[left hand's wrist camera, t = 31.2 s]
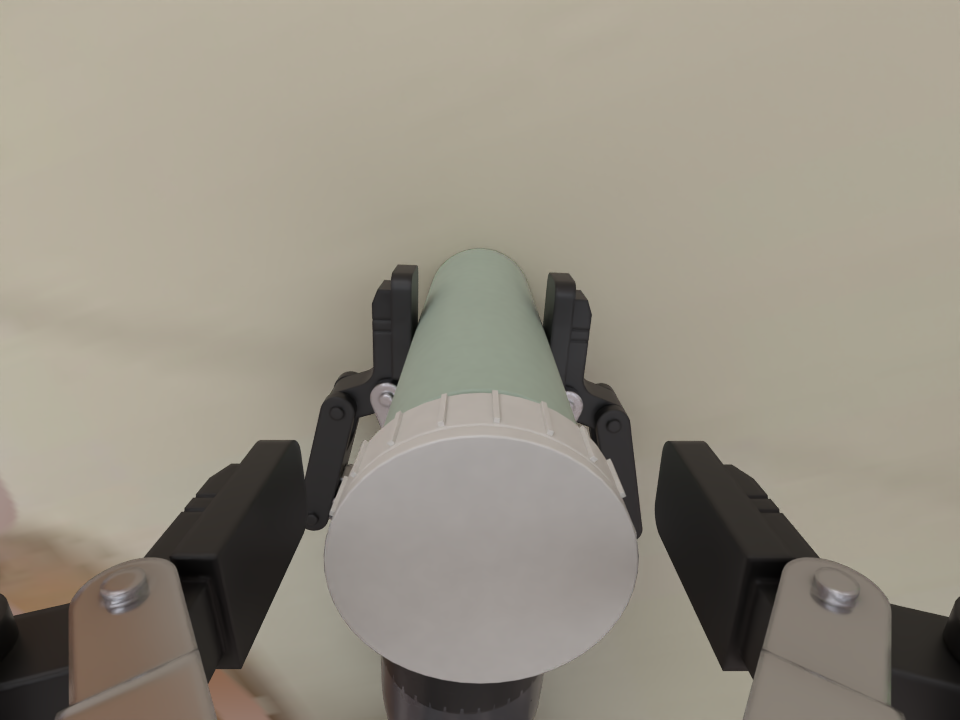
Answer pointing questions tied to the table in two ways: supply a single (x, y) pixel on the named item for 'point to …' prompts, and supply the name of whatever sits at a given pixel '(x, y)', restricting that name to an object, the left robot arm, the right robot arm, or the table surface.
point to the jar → (479, 338)
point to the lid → (481, 540)
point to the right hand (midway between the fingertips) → (482, 275)
